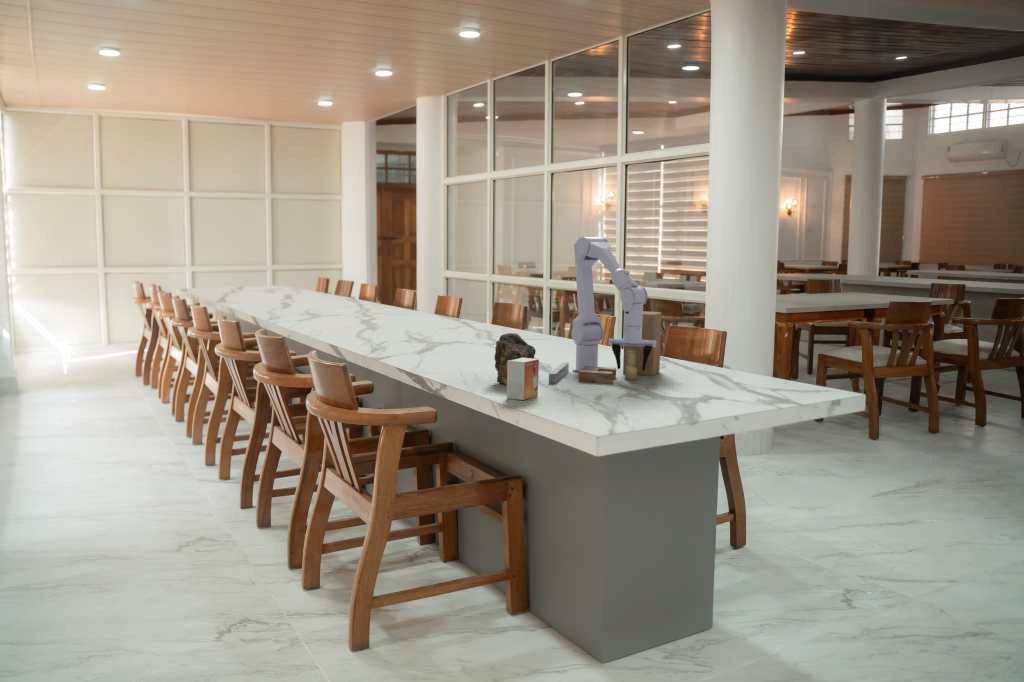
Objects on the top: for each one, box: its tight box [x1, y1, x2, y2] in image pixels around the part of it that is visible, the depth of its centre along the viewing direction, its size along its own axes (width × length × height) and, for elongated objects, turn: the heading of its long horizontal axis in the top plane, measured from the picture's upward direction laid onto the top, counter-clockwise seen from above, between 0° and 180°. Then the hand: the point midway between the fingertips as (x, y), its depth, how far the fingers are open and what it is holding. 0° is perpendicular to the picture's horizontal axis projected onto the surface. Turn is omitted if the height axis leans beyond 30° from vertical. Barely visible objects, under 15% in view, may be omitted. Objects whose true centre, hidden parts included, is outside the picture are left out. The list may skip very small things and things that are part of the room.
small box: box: [506, 358, 540, 401], centre depth 234 cm, size 8×6×10 cm
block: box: [578, 366, 617, 384], centre depth 265 cm, size 12×10×3 cm
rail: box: [548, 362, 570, 385], centre depth 268 cm, size 24×2×3 cm, turn 167°
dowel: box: [624, 351, 638, 382], centre depth 266 cm, size 4×4×9 cm
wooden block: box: [622, 310, 663, 377], centre depth 279 cm, size 10×10×20 cm
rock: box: [494, 332, 537, 387], centre depth 257 cm, size 14×13×15 cm
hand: (631, 369), depth 266 cm, fingers open, 7 cm apart
